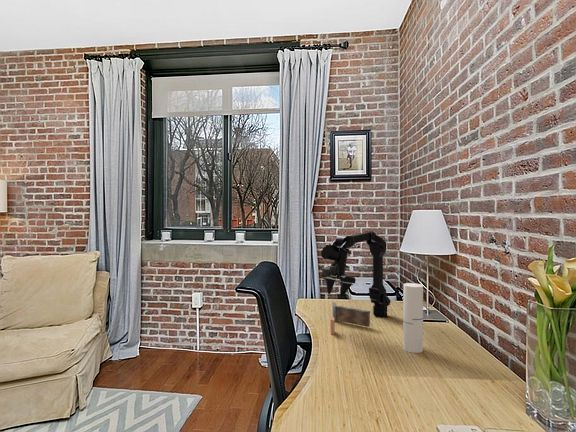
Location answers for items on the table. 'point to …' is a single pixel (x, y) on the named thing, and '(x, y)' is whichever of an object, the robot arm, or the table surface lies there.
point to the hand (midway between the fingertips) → (334, 295)
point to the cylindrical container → (413, 317)
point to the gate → (353, 316)
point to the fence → (333, 319)
